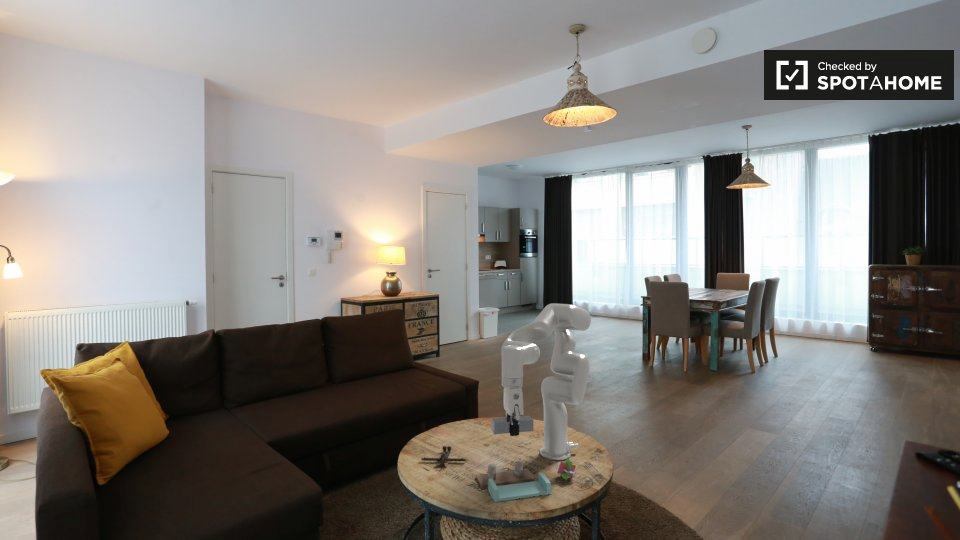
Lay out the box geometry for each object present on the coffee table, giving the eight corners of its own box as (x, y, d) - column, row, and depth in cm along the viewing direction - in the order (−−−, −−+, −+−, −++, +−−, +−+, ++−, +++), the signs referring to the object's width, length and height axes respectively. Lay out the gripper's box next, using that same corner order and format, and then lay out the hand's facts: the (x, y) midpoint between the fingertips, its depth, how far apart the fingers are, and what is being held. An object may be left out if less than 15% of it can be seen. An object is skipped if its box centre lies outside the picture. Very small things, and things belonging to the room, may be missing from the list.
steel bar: (529, 426, 169) (529, 415, 169) (533, 431, 165) (533, 419, 165) (491, 429, 166) (491, 418, 166) (494, 434, 162) (494, 422, 162)
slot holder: (542, 483, 169) (542, 472, 169) (550, 494, 161) (550, 482, 161) (488, 490, 164) (488, 478, 164) (494, 502, 156) (494, 490, 156)
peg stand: (527, 471, 178) (527, 456, 178) (535, 481, 170) (535, 466, 170) (476, 477, 173) (476, 462, 173) (481, 488, 166) (481, 472, 165)
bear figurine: (468, 445, 195) (465, 457, 181) (468, 456, 195) (465, 468, 181) (425, 444, 197) (418, 456, 182) (425, 455, 196) (418, 467, 182)
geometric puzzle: (574, 465, 177) (562, 451, 176) (584, 473, 171) (572, 458, 169) (560, 479, 176) (549, 465, 174) (570, 488, 169) (558, 473, 167)
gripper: (530, 387, 157) (530, 441, 158) (516, 374, 174) (516, 423, 174) (508, 388, 156) (508, 443, 156) (496, 375, 172) (496, 425, 173)
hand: (512, 432), depth 165 cm, fingers closed on steel bar, 4 cm apart
